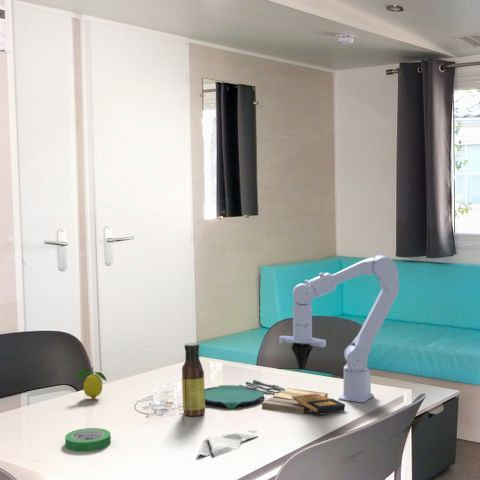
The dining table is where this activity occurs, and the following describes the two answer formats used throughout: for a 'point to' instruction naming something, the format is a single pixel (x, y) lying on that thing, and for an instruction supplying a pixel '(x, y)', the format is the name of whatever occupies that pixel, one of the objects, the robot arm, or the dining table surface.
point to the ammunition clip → (319, 403)
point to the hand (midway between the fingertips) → (302, 368)
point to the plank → (295, 393)
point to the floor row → (284, 405)
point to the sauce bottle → (193, 382)
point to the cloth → (224, 443)
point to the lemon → (92, 383)
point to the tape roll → (78, 443)
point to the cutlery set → (238, 394)
